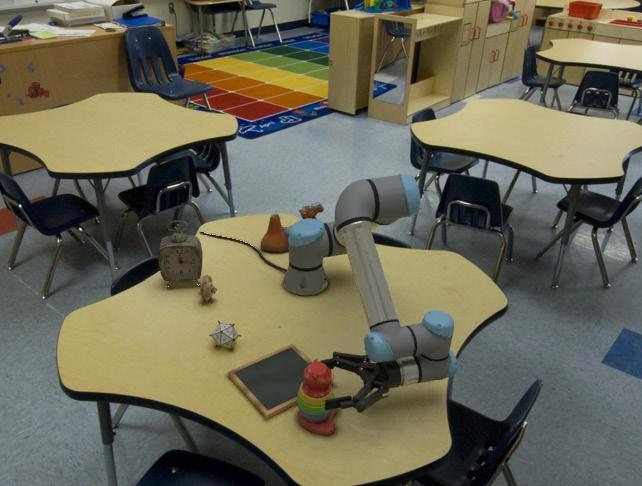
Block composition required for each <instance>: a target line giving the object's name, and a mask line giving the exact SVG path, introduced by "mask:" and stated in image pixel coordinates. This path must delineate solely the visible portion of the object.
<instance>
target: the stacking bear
mask: <svg viewBox="0 0 642 486" xmlns="http://www.w3.org/2000/svg"><path fill="white" fill-rule="evenodd" d="M334 380H335V375H334V373H333V371H332V370H330V369H329V368H328V367H327V366H326V365H325V364H323V363H321V362H320V361H319V359H318V358H315V359H314V360H313V362H312V363H311V364H310V365H308V366H307V367H306V368H305V370H304V381H303V382H302V384H301V386H300V389H299V392H298V397H297V403H298V404H297V407H298V410H299V411H298V414H297V420H298V423H299V424H300V425H301V426H302V427H303V428H304V429H306V430H307V431H309V432H312V433H314V434H317V435H321V436H331V435H332V434H334V433H335V430H336V426H335V424H334V422H333V419H334V417H335V416H336V415H337V414H338V412H339V408H336V409H331V410H325V400H328V399H333V398H335V393H334V389H333V386H331V383H332V381H333V382H334Z"/></svg>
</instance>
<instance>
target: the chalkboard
mask: <svg viewBox="0 0 642 486" xmlns="http://www.w3.org/2000/svg"><path fill="white" fill-rule="evenodd" d="M309 363H313V362H312V361H311V360H310V359H309V358H308V357H307V356H306V355H304V353H302V351H300V350H299V349H298V348H297V347H296V346H295V345H294V344H293V343H291V344H289V345H286V346H284V347H282V348H279V349H278V350H275V351H273V352H271V353H269V354H266V355H264V356H261V357H259V358H257V359H254V360H252V361H250V362H247V363H245V364H243V365H241V366H239V367H236V368H234V369H231V370H229V371H228V372H227V375H228V377H229V378H230V380H231V381H232V382H233V383H234V384H235V385H236V386H237V388H239V390H240V391H241V392H242V393H243V394H244V395H245V397H246V398H248V400H249V401H250V402H251V403H252V404H253V405H254V407H255V408H256V409H257V410H258V411H259V412H260V413H261V415H262V416H263V417H264V418H265V420H267V419H269V418H271V417H273V416H275V415H278V414H279V413H282V412H283V411H285V410H288V409H289V408H292V407H294V406H296V405H298V403H297V397H298V392H299V389H300V386H301V384H302V382H303V381H304V370H305V368H306V367H307V366H308V365H309ZM331 386H332V387H334V380H333V381H332V383H331Z"/></svg>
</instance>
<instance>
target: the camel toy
mask: <svg viewBox="0 0 642 486" xmlns="http://www.w3.org/2000/svg"><path fill="white" fill-rule="evenodd" d="M324 210H325V209H324V206H323V204H322V203H321V202H319V201H317V202H315V203H312V204H311V205H305V206H302V208H300V209H298V213H300V216H301V218H302V220H303V219H308V218H312V219H318V218H317V217H316V216H317V215H318V214H320V213H323V212H324ZM291 226H292V225H289V226H283V225H282V222H281V217H280V214H278V213H276V212H275V213H272V214H271V215H270V217H269V221H268V225H267V230H266V232H265V234H264V235H263V237H262V238H261V240H260V249H261V250H262V251H263V250H265V251H268V252H271V253H275V252H276V253H289V242H288V238H289V230H290V228H291Z"/></svg>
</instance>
